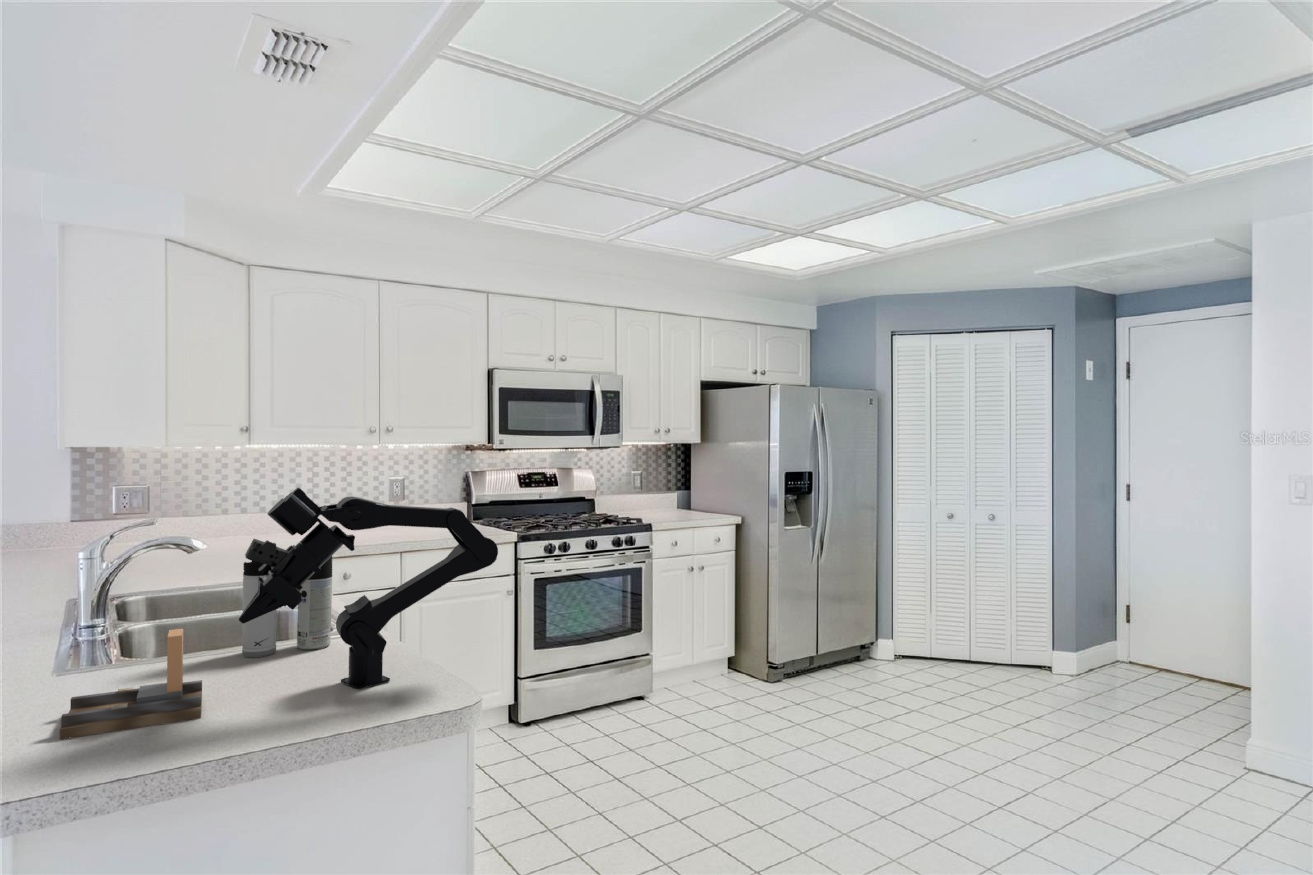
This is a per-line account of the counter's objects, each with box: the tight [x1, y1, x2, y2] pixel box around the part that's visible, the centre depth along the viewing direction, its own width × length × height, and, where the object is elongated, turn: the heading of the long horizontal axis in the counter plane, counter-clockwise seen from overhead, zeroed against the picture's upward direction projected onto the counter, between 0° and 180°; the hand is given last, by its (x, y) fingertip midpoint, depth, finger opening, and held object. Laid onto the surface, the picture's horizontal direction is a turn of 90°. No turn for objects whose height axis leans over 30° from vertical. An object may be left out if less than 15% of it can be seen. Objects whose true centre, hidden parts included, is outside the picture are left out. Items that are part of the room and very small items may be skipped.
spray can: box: [296, 555, 333, 651], centre depth 162 cm, size 7×7×20 cm
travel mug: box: [241, 561, 278, 659], centre depth 157 cm, size 6×7×20 cm
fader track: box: [59, 679, 203, 740], centre depth 122 cm, size 18×12×3 cm, turn 120°
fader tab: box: [136, 628, 184, 704], centre depth 123 cm, size 6×6×11 cm
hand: (240, 621), depth 129 cm, fingers closed
